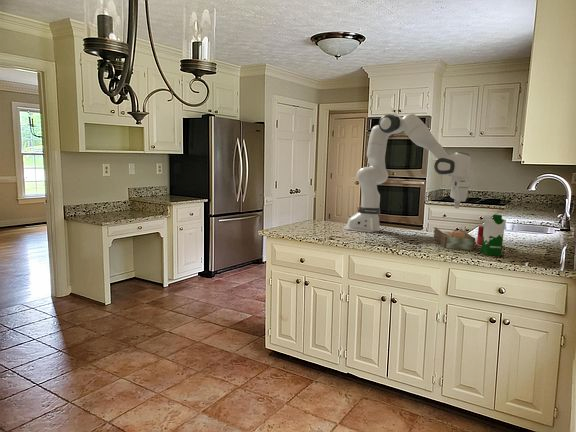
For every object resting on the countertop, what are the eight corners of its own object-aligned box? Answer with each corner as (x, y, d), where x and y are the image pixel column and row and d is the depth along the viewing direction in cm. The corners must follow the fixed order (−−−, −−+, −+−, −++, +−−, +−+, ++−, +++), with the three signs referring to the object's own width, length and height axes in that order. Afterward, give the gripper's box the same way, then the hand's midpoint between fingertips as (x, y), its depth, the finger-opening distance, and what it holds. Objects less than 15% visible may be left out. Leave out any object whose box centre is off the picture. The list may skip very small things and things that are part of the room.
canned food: (483, 246, 235) (485, 226, 234) (473, 243, 243) (475, 223, 241) (495, 246, 237) (497, 226, 236) (484, 242, 245) (487, 223, 243)
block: (454, 240, 228) (454, 232, 227) (451, 238, 232) (452, 231, 232) (464, 240, 227) (464, 233, 226) (461, 238, 232) (462, 231, 231)
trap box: (444, 247, 227) (445, 236, 226) (433, 237, 254) (434, 227, 253) (474, 249, 225) (475, 238, 224) (460, 239, 252) (461, 229, 251)
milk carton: (486, 255, 213) (491, 215, 210) (477, 251, 222) (482, 212, 218) (503, 256, 213) (508, 216, 210) (494, 252, 222) (499, 213, 219)
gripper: (449, 180, 244) (446, 205, 246) (458, 183, 224) (454, 210, 226) (460, 181, 243) (457, 205, 245) (470, 184, 223) (467, 211, 225)
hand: (456, 207), depth 236 cm, fingers closed
